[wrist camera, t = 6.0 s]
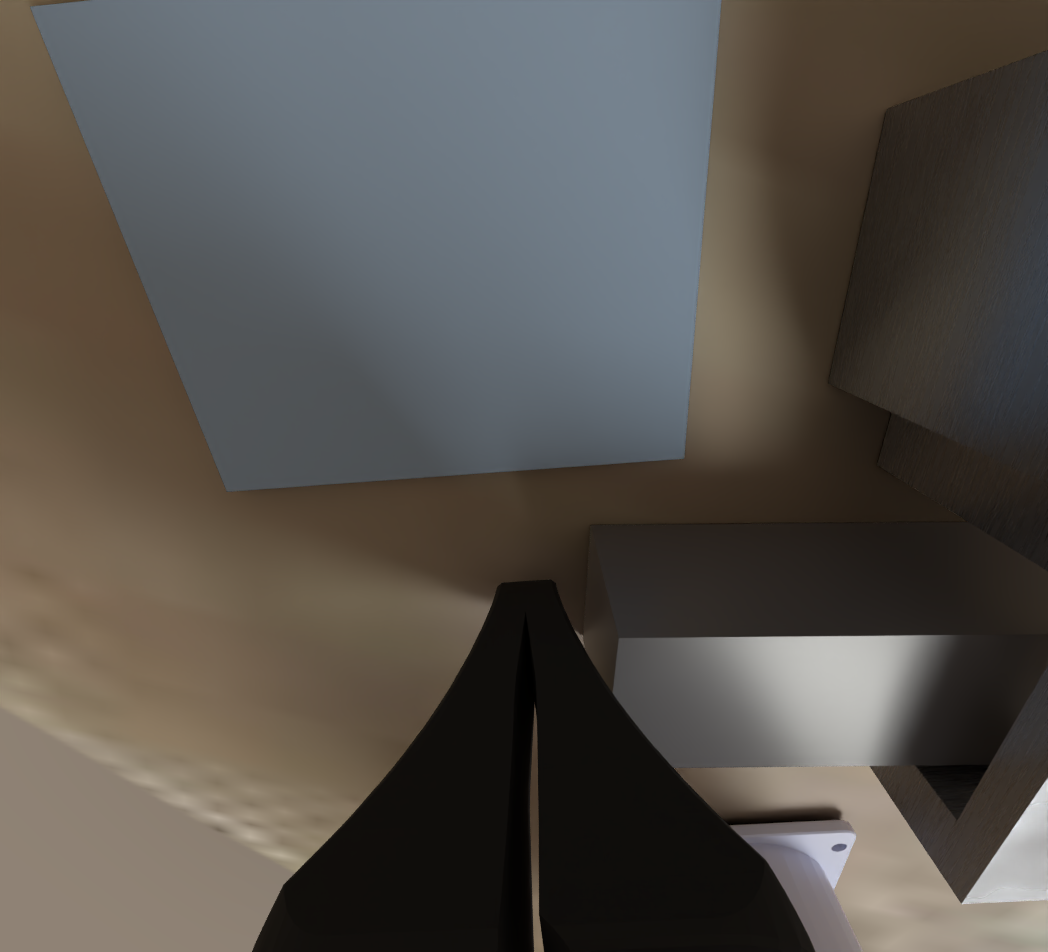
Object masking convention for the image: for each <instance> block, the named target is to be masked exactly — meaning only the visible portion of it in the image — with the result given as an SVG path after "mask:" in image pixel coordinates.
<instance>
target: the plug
mask: <svg viewBox="0 0 1048 952" xmlns="http://www.w3.org/2000/svg"><path fill="white" fill-rule="evenodd" d="M583 640H584V646H585V651H586V652H587V654H588V656H589V658H590V659H591V661H592V663H593V664H594V666H595V667H596V669H597V670H598V672H599V674H600V675H601V677H602V678H603V680H604V681H605V683H606V684H607V686H608V687H609V689H610V690H611V692H612V693H613V694H614V696H615V697H616V699H617V700H618V701H619V703H620V704H621V705H622V707H623V708H624V709H625V711H626V712H627V713H628V715H629V716H630V717H631V719H632V720H633V721H634V722H635V724H636V725H637V726H638V727H639V729H640V730H641V731H642V733H643V734H644V735H645V736H646V737H647V739H648V740H649V741H650V742H651V743H652V744H653V746H654V747H655V748H656V749H657V750H658V751H659V752H660V753H661V755H662V756H663V757H664V758H665V759H666V760H667V761H668V763H669V764H670V765H671V766H672V767H673V768H716V767H814V766H912V765H990V763H991V762H992V760H993V758H994V757H995V755H996V753H997V751H998V750H999V748H1000V746H1001V745H1002V743H1003V741H1004V739H1005V738H1006V736H1007V734H1008V733H1009V731H1010V729H1011V727H1012V726H1013V724H1014V722H1015V721H1016V719H1017V717H1018V715H1019V714H1020V712H1021V710H1022V709H1023V707H1024V705H1025V703H1026V702H1027V700H1028V698H1029V696H1030V695H1031V693H1032V691H1033V690H1034V688H1035V686H1036V684H1037V683H1038V681H1039V679H1040V678H1041V676H1042V674H1043V672H1044V671H1045V669H1046V667H1047V666H1048V571H1046V570H1045V569H1043V568H1041V567H1040V566H1038V565H1037V564H1035V563H1033V562H1032V561H1030V560H1029V559H1027V558H1025V557H1024V556H1022V555H1021V554H1019V553H1017V552H1016V551H1014V550H1013V549H1011V548H1009V547H1008V546H1006V545H1005V544H1003V543H1001V542H1000V541H998V540H997V539H995V538H993V537H992V536H990V535H988V534H987V533H985V532H984V531H982V530H980V529H979V528H977V527H976V526H974V525H972V524H971V523H969V522H911V523H787V524H662V525H591V528H590V542H589V557H588V572H587V586H586V601H585V616H584V630H583Z"/></svg>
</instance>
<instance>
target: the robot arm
mask: <svg viewBox="0 0 1048 952" xmlns="http://www.w3.org/2000/svg"><path fill="white" fill-rule="evenodd" d="M534 705H535V707H536V715H537V736H538V800H539V916H540V924H541V931H542V939H543V946H544V952H863V950H862V948H861V946H860V944H859V942H858V940H857V938H856V936H855V934H854V932H853V929H852V927H851V925H850V923H849V921H848V919H847V917H846V915H845V913H844V911H843V909H842V907H841V905H840V903H839V901H838V898H837V896H836V894H835V892H834V888H835V886H836V884H837V881H838V879H839V877H840V874H841V872H842V869H843V867H844V865H845V862H846V860H847V858H848V855H849V853H850V851H851V848H852V846H853V844H854V841H855V839H856V833H855V832H854V830H853V828H852V826H851V825H850V823H849V822H847V821H844V820H825V821H805V822H785V823H765V824H745V825H728V824H727V823H726V822H725V821H724V820H723V819H722V818H721V817H720V816H719V815H718V814H717V813H716V812H715V811H714V810H713V809H712V808H711V807H710V806H709V805H708V804H707V803H706V802H705V801H704V800H703V799H702V798H701V797H700V796H699V795H698V794H697V793H696V792H695V791H694V790H693V789H692V788H691V787H690V786H689V785H688V784H687V783H686V782H685V781H684V779H683V778H682V777H681V776H680V775H679V774H678V773H677V772H676V770H675V769H674V768H673V767H672V766H671V765H670V764H669V763H668V761H667V760H666V759H665V758H664V757H663V756H662V755H661V753H660V752H659V751H658V750H657V749H656V748H655V747H654V746H653V744H652V743H651V742H650V741H649V740H648V739H647V737H646V736H645V735H644V734H643V733H642V731H641V730H640V729H639V727H638V726H637V725H636V724H635V722H634V721H633V720H632V719H631V717H630V716H629V715H628V713H627V712H626V711H625V709H624V708H623V707H622V705H621V704H620V703H619V701H618V700H617V699H616V697H615V696H614V694H613V693H612V692H611V690H610V689H609V687H608V686H607V684H606V683H605V681H604V680H603V678H602V677H601V675H600V674H599V672H598V670H597V669H596V667H595V666H594V664H593V663H592V661H591V659H590V658H589V656H588V654H587V652H586V651H585V649H584V647H583V645H582V644H581V642H580V640H579V638H578V636H577V634H576V633H575V631H574V629H573V627H572V625H571V623H570V621H569V618H568V616H567V614H566V612H565V610H564V607H563V605H562V602H561V600H560V597H559V594H558V590H557V587H556V583H555V582H554V581H552V580H537V581H522V582H506V583H501V584H500V585H499V586H498V587H497V590H496V594H495V597H494V600H493V603H492V605H491V608H490V610H489V613H488V615H487V618H486V620H485V622H484V624H483V627H482V629H481V631H480V633H479V635H478V637H477V639H476V641H475V643H474V645H473V647H472V649H471V651H470V653H469V655H468V657H467V659H466V661H465V662H464V664H463V666H462V668H461V669H460V671H459V673H458V675H457V676H456V678H455V680H454V682H453V683H452V685H451V687H450V688H449V690H448V692H447V693H446V695H445V696H444V698H443V700H442V701H441V703H440V704H439V706H438V707H437V709H436V710H435V712H434V713H433V715H432V716H431V717H430V719H429V720H428V722H427V723H426V725H425V726H424V728H423V729H422V730H421V732H420V733H419V734H418V736H417V737H416V738H415V740H414V741H413V742H412V744H411V745H410V746H409V748H408V749H407V750H406V752H405V753H404V754H403V756H402V757H401V758H400V759H399V761H398V762H397V763H396V764H395V766H394V767H393V768H392V769H391V771H390V772H389V773H388V774H387V775H386V777H385V778H384V779H383V780H382V781H381V782H380V783H379V785H378V786H377V787H376V788H375V789H374V790H373V791H372V793H371V794H370V795H369V796H368V797H367V798H366V799H365V801H364V802H363V803H362V804H361V805H360V806H359V807H358V809H357V810H356V811H355V812H354V813H353V814H352V815H351V817H350V818H349V819H348V820H347V821H346V822H345V823H344V824H343V825H342V826H341V827H340V828H339V829H338V830H337V831H336V832H335V833H334V834H333V835H332V836H331V837H330V838H329V839H328V841H327V842H326V843H325V844H324V845H323V846H322V847H321V848H320V849H319V850H318V851H317V852H316V853H315V854H314V855H313V856H312V857H311V858H310V859H309V860H308V861H307V862H306V863H305V864H304V865H303V866H302V867H301V868H300V869H299V870H298V871H297V872H296V873H295V874H294V875H293V876H292V877H291V878H290V879H289V880H288V881H287V882H286V883H285V884H284V885H283V887H282V889H281V891H280V893H279V895H278V897H277V899H276V901H275V903H274V905H273V907H272V909H271V911H270V913H269V915H268V918H267V920H266V922H265V924H264V926H263V928H262V931H261V932H260V935H259V937H258V939H257V941H256V943H255V946H254V948H253V951H252V952H534V939H533V908H532V875H531V840H530V780H531V762H532V743H533V724H534Z"/></svg>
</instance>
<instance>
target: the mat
mask: <svg viewBox="0 0 1048 952" xmlns="http://www.w3.org/2000/svg"><path fill="white" fill-rule="evenodd" d="M30 8H31V11H32V13H33V16H34V18H35V21H36V23H37V26H38V28H39V31H40V33H41V35H42V38H43V40H44V43H45V45H46V48H47V50H48V53H49V55H50V58H51V60H52V63H53V65H54V67H55V70H56V72H57V75H58V77H59V80H60V82H61V85H62V87H63V90H64V92H65V95H66V97H67V99H68V102H69V104H70V107H71V109H72V112H73V114H74V117H75V119H76V122H77V124H78V127H79V129H80V131H81V134H82V136H83V139H84V141H85V144H86V146H87V149H88V151H89V154H90V156H91V159H92V161H93V163H94V166H95V168H96V171H97V173H98V176H99V178H100V181H101V183H102V186H103V188H104V191H105V193H106V195H107V198H108V200H109V203H110V205H111V208H112V210H113V213H114V215H115V218H116V220H117V223H118V225H119V227H120V230H121V232H122V235H123V237H124V240H125V242H126V245H127V247H128V250H129V252H130V255H131V257H132V259H133V262H134V264H135V267H136V269H137V272H138V274H139V277H140V279H141V282H142V284H143V287H144V289H145V291H146V294H147V296H148V299H149V301H150V304H151V306H152V309H153V311H154V314H155V316H156V319H157V321H158V324H159V326H160V328H161V331H162V333H163V336H164V338H165V341H166V343H167V346H168V348H169V351H170V353H171V356H172V358H173V360H174V363H175V365H176V368H177V370H178V373H179V375H180V378H181V380H182V383H183V385H184V388H185V390H186V392H187V395H188V397H189V400H190V402H191V405H192V407H193V410H194V412H195V415H196V417H197V420H198V422H199V424H200V427H201V429H202V432H203V434H204V437H205V439H206V442H207V444H208V447H209V449H210V452H211V454H212V456H213V459H214V461H215V464H216V466H217V469H218V471H219V474H220V476H221V479H222V481H223V484H224V486H225V488H226V491H227V492H232V491H246V490H259V489H273V488H287V487H301V486H315V485H328V484H342V483H356V482H370V481H384V480H397V479H411V478H425V477H439V476H453V475H466V474H480V473H494V472H508V471H522V470H535V469H549V468H563V467H577V466H591V465H604V464H618V463H632V462H646V461H660V460H673V459H684V455H685V442H686V430H687V418H688V406H689V393H690V381H691V369H692V356H693V344H694V332H695V319H696V307H697V295H698V282H699V270H700V258H701V246H702V233H703V221H704V209H705V196H706V184H707V172H708V159H709V147H710V135H711V122H712V110H713V98H714V86H715V73H716V61H717V49H718V36H719V24H720V12H721V0H89V1H79V2H69V3H60V4H50V5H40V6H31V7H30Z"/></svg>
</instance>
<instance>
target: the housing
mask: <svg viewBox="0 0 1048 952" xmlns="http://www.w3.org/2000/svg"><path fill="white" fill-rule="evenodd" d="M828 383H829V384H831V385H833V386H835V387H837V388H839V389H842V390H844V391H846V392H848V393H850V394H853V395H855V396H857V397H859V398H861V399H864V400H866V401H868V402H870V403H872V404H875V405H877V406H879V407H881V408H883V409H885V410H888V411H890V412H892V414H891V418H890V421H889V425H888V428H887V432H886V435H885V439H884V443H883V446H882V450H881V453H880V457H879V460H878V464H877V465H878V466H879V467H881V468H883V469H884V470H886V471H887V472H889V473H891V474H892V475H894V476H895V477H897V478H899V479H900V480H902V481H903V482H905V483H907V484H908V485H910V486H911V487H913V488H915V489H916V490H918V491H919V492H921V493H923V494H924V495H926V496H927V497H929V498H931V499H932V500H934V501H936V502H937V503H939V504H940V505H942V506H944V507H945V508H947V509H948V510H950V511H952V512H953V513H955V514H956V515H958V516H960V517H961V518H963V519H964V520H966V521H968V522H969V523H971V524H972V525H974V526H976V527H977V528H979V529H980V530H982V531H984V532H985V533H987V534H988V535H990V536H992V537H993V538H995V539H997V540H998V541H1000V542H1001V543H1003V544H1005V545H1006V546H1008V547H1009V548H1011V549H1013V550H1014V551H1016V552H1017V553H1019V554H1021V555H1022V556H1024V557H1025V558H1027V559H1029V560H1030V561H1032V562H1033V563H1035V564H1037V565H1038V566H1040V567H1041V568H1043V569H1045V570H1046V571H1048V50H1047V51H1044V52H1041V53H1039V54H1036V55H1033V56H1030V57H1028V58H1025V59H1022V60H1020V61H1017V62H1014V63H1011V64H1009V65H1006V66H1003V67H1000V68H998V69H995V70H992V71H989V72H987V73H984V74H981V75H978V76H976V77H973V78H970V79H968V80H965V81H962V82H959V83H957V84H954V85H951V86H948V87H946V88H943V89H940V90H937V91H935V92H932V93H929V94H927V95H924V96H921V97H918V98H916V99H913V100H910V101H907V102H905V103H902V104H899V105H896V106H894V107H891V108H888V109H887V110H886V115H885V120H884V125H883V129H882V134H881V139H880V143H879V148H878V153H877V157H876V162H875V167H874V171H873V176H872V181H871V185H870V190H869V195H868V199H867V204H866V209H865V213H864V218H863V223H862V227H861V232H860V237H859V242H858V246H857V251H856V256H855V260H854V265H853V270H852V274H851V279H850V284H849V288H848V293H847V298H846V302H845V307H844V312H843V316H842V321H841V326H840V330H839V335H838V340H837V344H836V349H835V354H834V359H833V363H832V368H831V373H830V377H829V382H828ZM870 767H871V769H872V770H873V772H874V773H875V775H876V776H877V778H878V779H879V781H880V782H881V784H882V785H883V787H884V788H885V790H886V791H887V793H888V794H889V796H890V797H891V799H892V800H893V802H894V803H895V805H896V806H897V808H898V809H899V811H900V812H901V814H902V815H903V817H904V818H905V820H906V821H907V823H908V824H909V826H910V827H911V829H912V830H913V832H914V833H915V835H916V836H917V838H918V839H919V841H920V842H921V844H922V845H923V847H924V848H925V850H926V851H927V853H928V854H929V856H930V857H931V859H932V860H933V862H934V863H935V865H936V866H937V868H938V869H939V871H940V872H941V874H942V875H943V877H944V878H945V880H946V881H947V883H948V884H949V886H950V887H951V889H952V890H953V892H954V893H955V895H956V896H957V898H958V899H959V901H960V902H961V904H970V903H992V902H1014V901H1037V900H1048V666H1047V667H1046V669H1045V671H1044V672H1043V674H1042V676H1041V678H1040V679H1039V681H1038V683H1037V684H1036V686H1035V688H1034V690H1033V691H1032V693H1031V695H1030V696H1029V698H1028V700H1027V702H1026V703H1025V705H1024V707H1023V709H1022V710H1021V712H1020V714H1019V715H1018V717H1017V719H1016V721H1015V722H1014V724H1013V726H1012V727H1011V729H1010V731H1009V733H1008V734H1007V736H1006V738H1005V739H1004V741H1003V743H1002V745H1001V746H1000V748H999V750H998V751H997V753H996V755H995V757H994V758H993V760H992V762H991V763H990V765H912V766H870Z"/></svg>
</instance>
